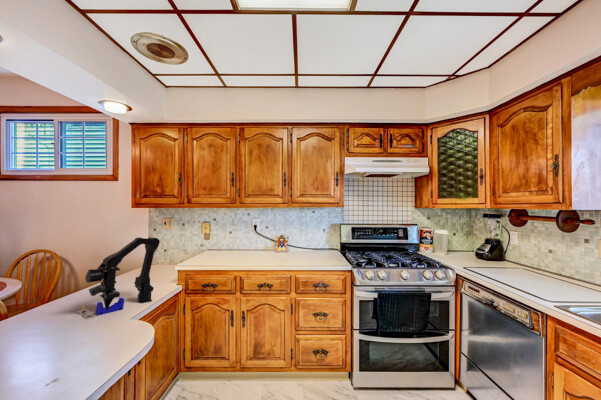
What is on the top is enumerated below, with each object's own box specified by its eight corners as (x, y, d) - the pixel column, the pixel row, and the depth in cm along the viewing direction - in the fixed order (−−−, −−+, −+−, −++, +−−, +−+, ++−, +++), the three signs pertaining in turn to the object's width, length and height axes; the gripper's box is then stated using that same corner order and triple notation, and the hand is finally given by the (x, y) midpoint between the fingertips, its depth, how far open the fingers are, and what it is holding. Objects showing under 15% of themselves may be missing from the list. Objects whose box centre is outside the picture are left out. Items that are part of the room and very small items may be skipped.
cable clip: (119, 306, 150) (120, 296, 150) (122, 309, 148) (124, 299, 148) (94, 312, 140) (96, 301, 140) (97, 315, 138) (99, 304, 138)
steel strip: (86, 310, 146) (87, 303, 146) (94, 316, 136) (95, 309, 136) (77, 311, 143) (77, 304, 143) (85, 319, 133) (85, 311, 133)
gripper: (86, 279, 147) (83, 307, 145) (96, 284, 135) (93, 316, 134) (110, 276, 155) (107, 303, 154) (121, 281, 144) (118, 310, 142)
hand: (106, 308), depth 146 cm, fingers closed
